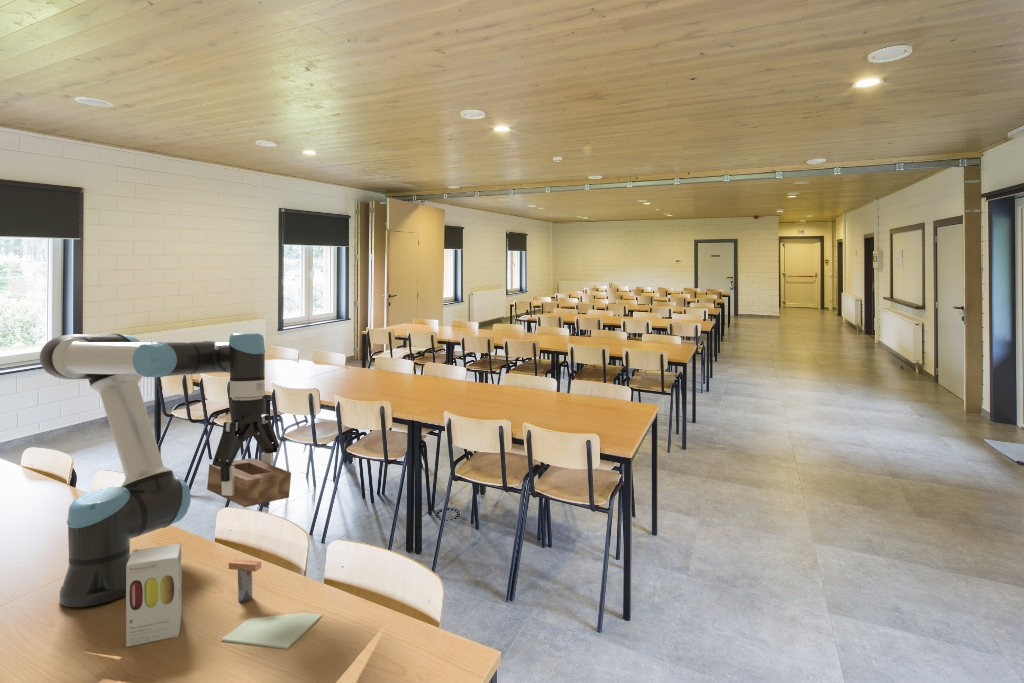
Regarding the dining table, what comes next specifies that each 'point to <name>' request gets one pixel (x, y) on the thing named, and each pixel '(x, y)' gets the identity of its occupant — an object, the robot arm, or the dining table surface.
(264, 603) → the dining table surface
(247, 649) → the dining table surface
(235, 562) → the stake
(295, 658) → the dining table surface
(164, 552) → the supplement box
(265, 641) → the mat
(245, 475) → the brown hollow elongated block
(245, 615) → the dining table surface
